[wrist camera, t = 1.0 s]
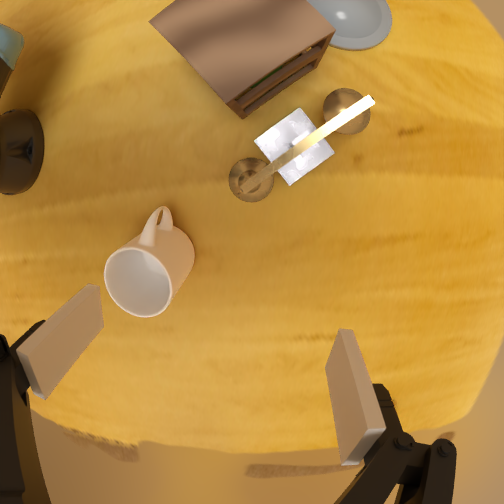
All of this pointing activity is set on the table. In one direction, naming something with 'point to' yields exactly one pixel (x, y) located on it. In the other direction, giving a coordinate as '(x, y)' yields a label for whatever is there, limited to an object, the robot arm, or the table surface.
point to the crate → (246, 44)
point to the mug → (150, 267)
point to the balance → (298, 144)
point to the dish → (356, 22)
